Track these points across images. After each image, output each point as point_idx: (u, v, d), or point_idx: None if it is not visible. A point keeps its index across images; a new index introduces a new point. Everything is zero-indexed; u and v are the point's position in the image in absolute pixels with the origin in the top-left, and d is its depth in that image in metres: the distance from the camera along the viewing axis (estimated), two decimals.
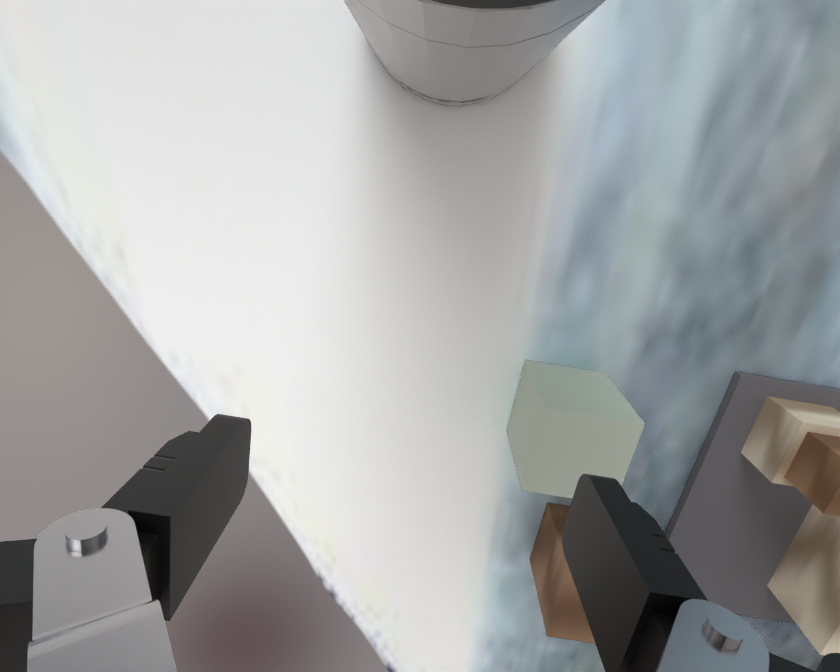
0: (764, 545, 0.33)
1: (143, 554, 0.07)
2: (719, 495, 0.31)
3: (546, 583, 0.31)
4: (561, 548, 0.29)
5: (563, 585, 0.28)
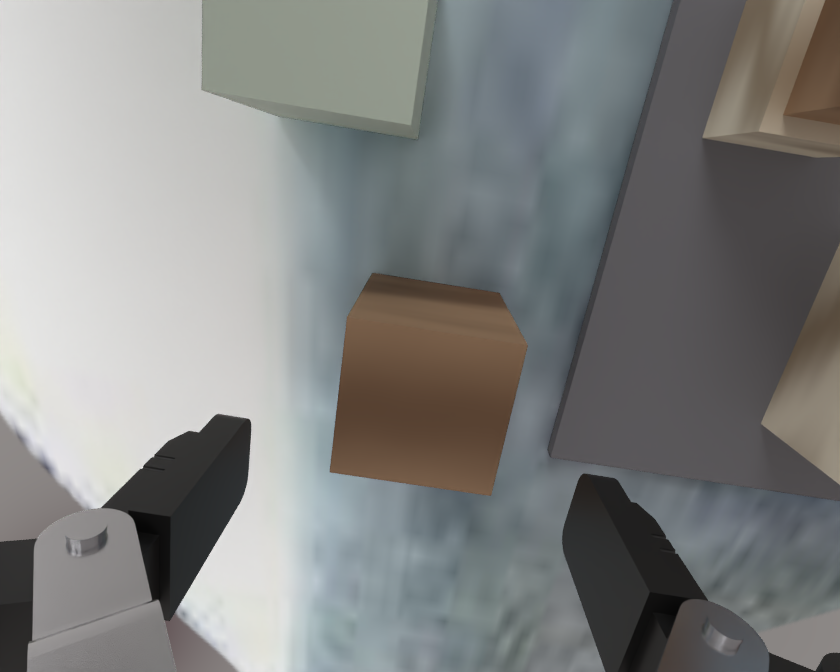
0: (753, 341, 0.19)
1: (143, 554, 0.07)
2: (668, 236, 0.17)
3: None
4: (357, 299, 0.15)
5: (344, 352, 0.14)
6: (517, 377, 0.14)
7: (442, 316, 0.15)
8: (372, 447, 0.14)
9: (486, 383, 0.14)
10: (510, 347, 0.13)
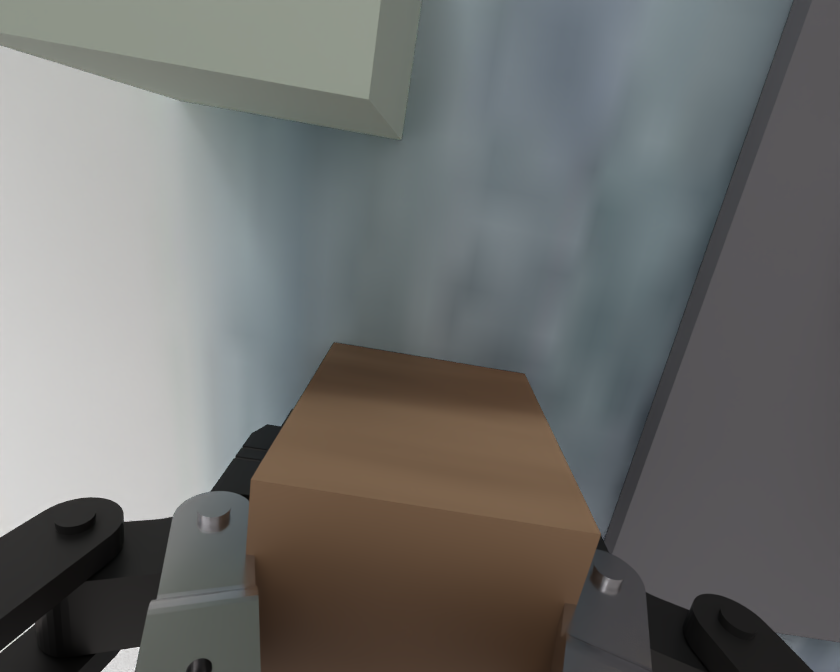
0: None
1: None
2: (792, 296, 0.11)
3: None
4: (288, 417, 0.09)
5: (252, 534, 0.07)
6: (579, 588, 0.07)
7: (437, 453, 0.08)
8: None
9: (518, 595, 0.07)
10: (567, 537, 0.07)
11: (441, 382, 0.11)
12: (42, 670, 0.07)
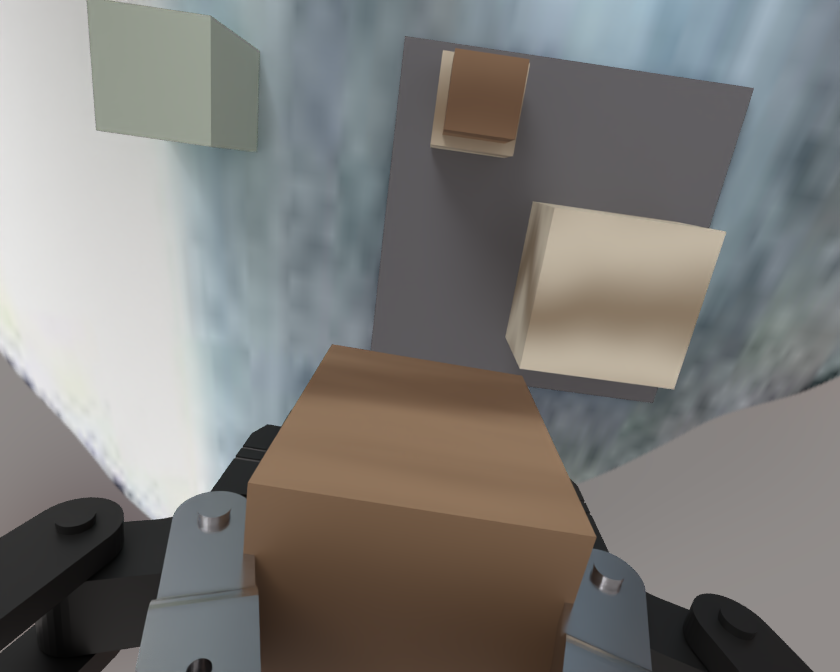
0: (488, 279, 0.28)
1: None
2: (421, 210, 0.27)
3: None
4: (286, 419, 0.09)
5: (249, 536, 0.07)
6: (574, 590, 0.07)
7: (434, 455, 0.08)
8: None
9: (515, 597, 0.07)
10: (562, 540, 0.07)
11: (439, 384, 0.11)
12: (42, 670, 0.07)
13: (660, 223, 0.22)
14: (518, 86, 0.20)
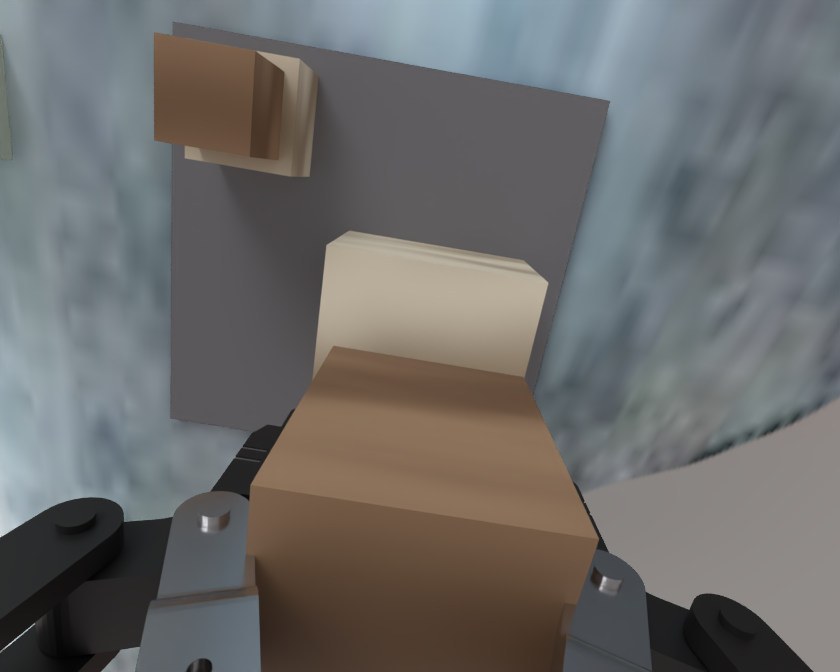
0: (304, 322, 0.23)
1: None
2: (214, 237, 0.22)
3: None
4: (288, 421, 0.09)
5: (252, 538, 0.07)
6: (577, 592, 0.07)
7: (437, 457, 0.08)
8: None
9: (517, 599, 0.07)
10: (565, 543, 0.07)
11: (440, 386, 0.11)
12: (42, 670, 0.07)
13: (463, 269, 0.17)
14: (244, 87, 0.15)
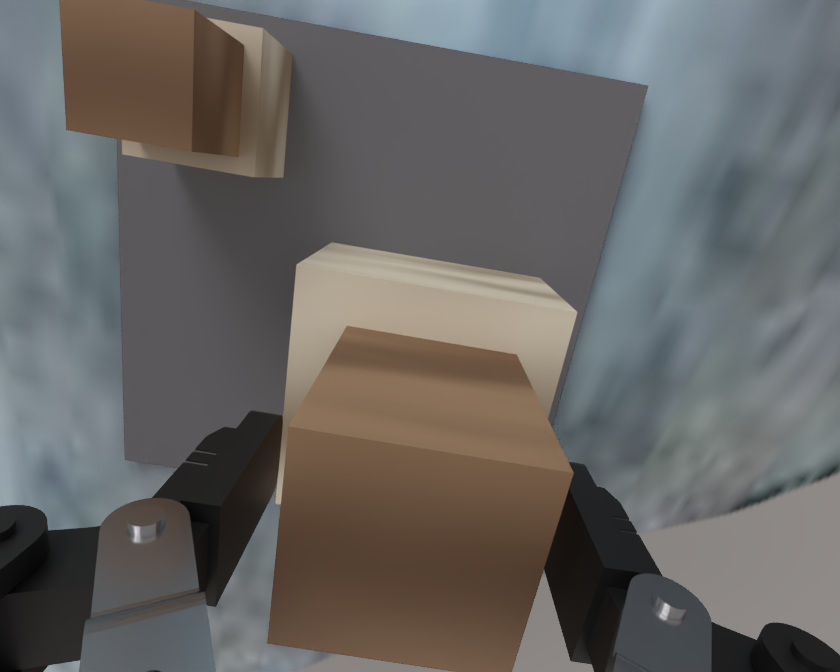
0: (280, 350, 0.20)
1: (196, 542, 0.08)
2: (170, 250, 0.18)
3: None
4: (313, 383, 0.10)
5: (286, 474, 0.09)
6: (556, 519, 0.09)
7: (440, 412, 0.10)
8: (331, 611, 0.10)
9: (506, 525, 0.09)
10: (546, 476, 0.08)
11: (442, 359, 0.13)
12: None
13: (470, 295, 0.14)
14: (182, 58, 0.11)
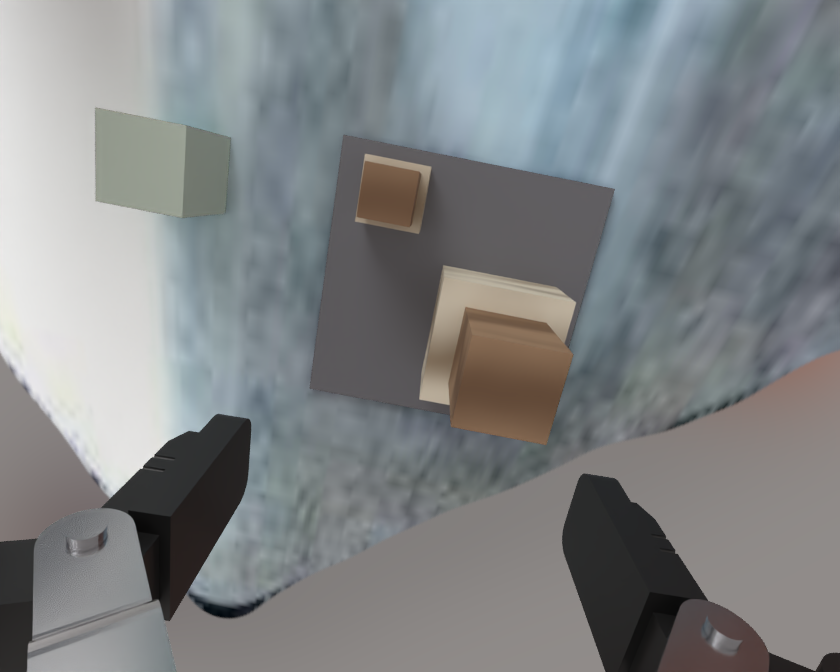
0: (408, 324, 0.35)
1: (144, 554, 0.07)
2: (353, 267, 0.34)
3: (456, 380, 0.27)
4: (469, 324, 0.25)
5: (466, 355, 0.24)
6: (566, 372, 0.24)
7: (521, 336, 0.25)
8: (478, 412, 0.25)
9: (548, 375, 0.24)
10: (563, 355, 0.24)
11: (514, 321, 0.28)
12: None
13: (525, 293, 0.29)
14: (411, 190, 0.26)
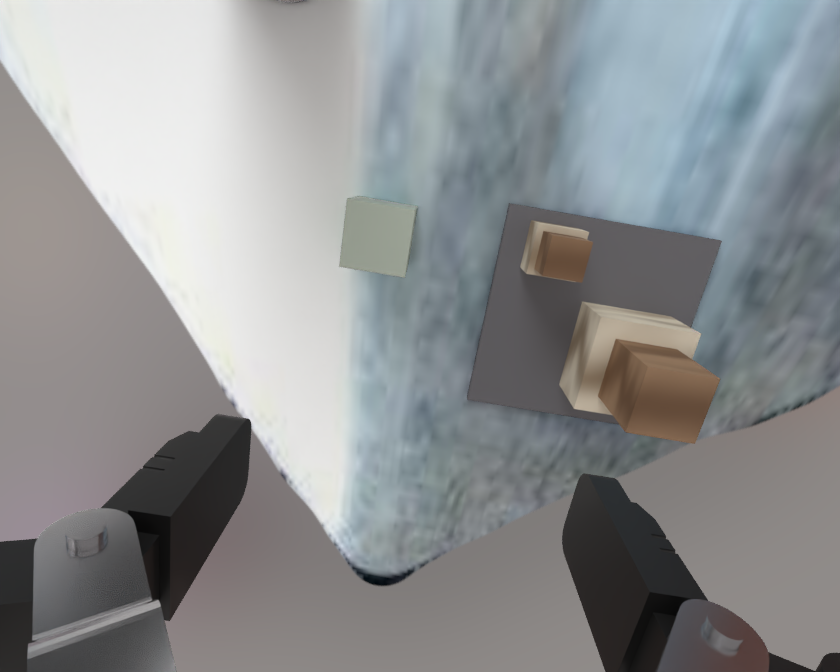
0: (550, 348, 0.44)
1: (144, 554, 0.07)
2: (510, 304, 0.43)
3: (620, 396, 0.36)
4: (636, 357, 0.34)
5: (641, 380, 0.33)
6: (714, 392, 0.33)
7: (676, 365, 0.34)
8: (646, 421, 0.34)
9: (700, 394, 0.33)
10: (712, 379, 0.33)
11: (658, 350, 0.37)
12: None
13: (662, 327, 0.38)
14: (586, 255, 0.35)
